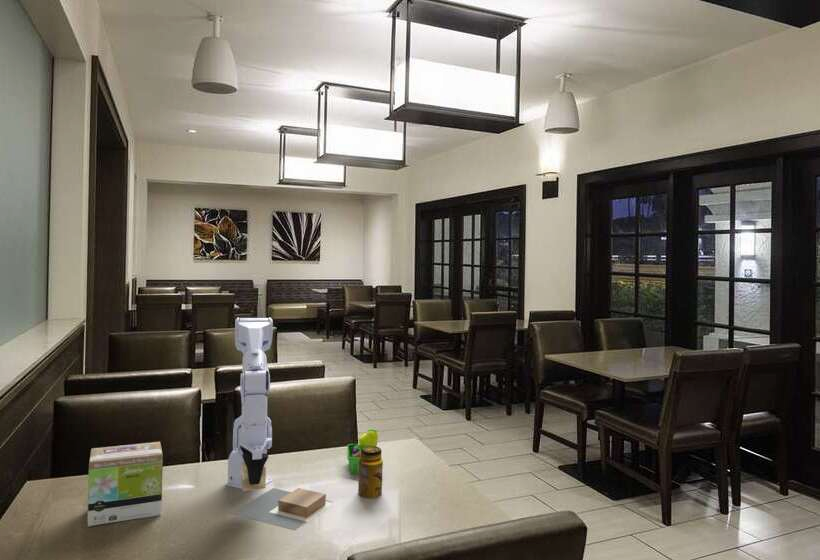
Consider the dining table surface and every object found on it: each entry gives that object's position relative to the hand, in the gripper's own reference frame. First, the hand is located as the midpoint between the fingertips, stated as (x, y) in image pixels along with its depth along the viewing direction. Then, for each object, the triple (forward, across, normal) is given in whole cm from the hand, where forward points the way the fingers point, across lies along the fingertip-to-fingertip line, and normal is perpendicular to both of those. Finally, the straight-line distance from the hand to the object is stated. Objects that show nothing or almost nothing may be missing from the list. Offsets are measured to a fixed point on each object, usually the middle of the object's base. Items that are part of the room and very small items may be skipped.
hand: (253, 479), depth 131 cm
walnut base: (+8, -2, -11) cm, 14 cm away
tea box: (+8, +9, +28) cm, 30 cm away
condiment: (+8, +1, -28) cm, 30 cm away
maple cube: (+2, 0, 0) cm, 2 cm away
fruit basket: (+8, +20, -32) cm, 39 cm away
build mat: (+8, 0, -7) cm, 11 cm away
